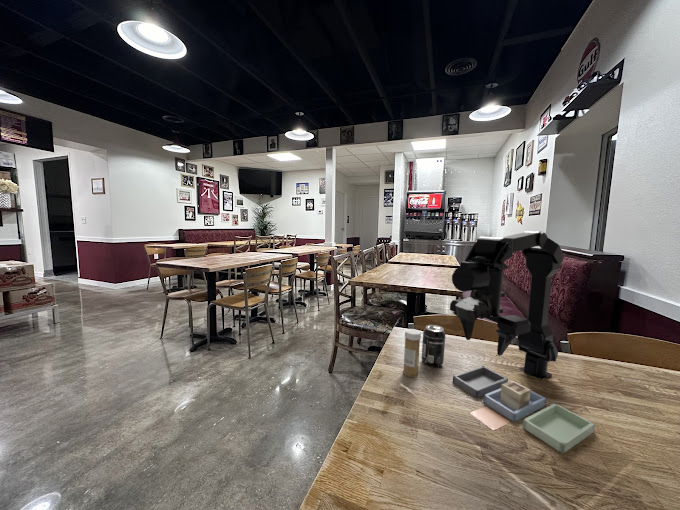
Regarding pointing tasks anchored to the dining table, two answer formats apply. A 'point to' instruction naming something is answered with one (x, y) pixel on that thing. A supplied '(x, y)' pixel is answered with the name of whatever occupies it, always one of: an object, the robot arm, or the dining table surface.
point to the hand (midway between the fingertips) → (482, 347)
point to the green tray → (558, 427)
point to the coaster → (489, 418)
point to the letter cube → (514, 395)
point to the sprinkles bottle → (411, 352)
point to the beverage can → (433, 345)
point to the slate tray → (514, 415)
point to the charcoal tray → (479, 381)
